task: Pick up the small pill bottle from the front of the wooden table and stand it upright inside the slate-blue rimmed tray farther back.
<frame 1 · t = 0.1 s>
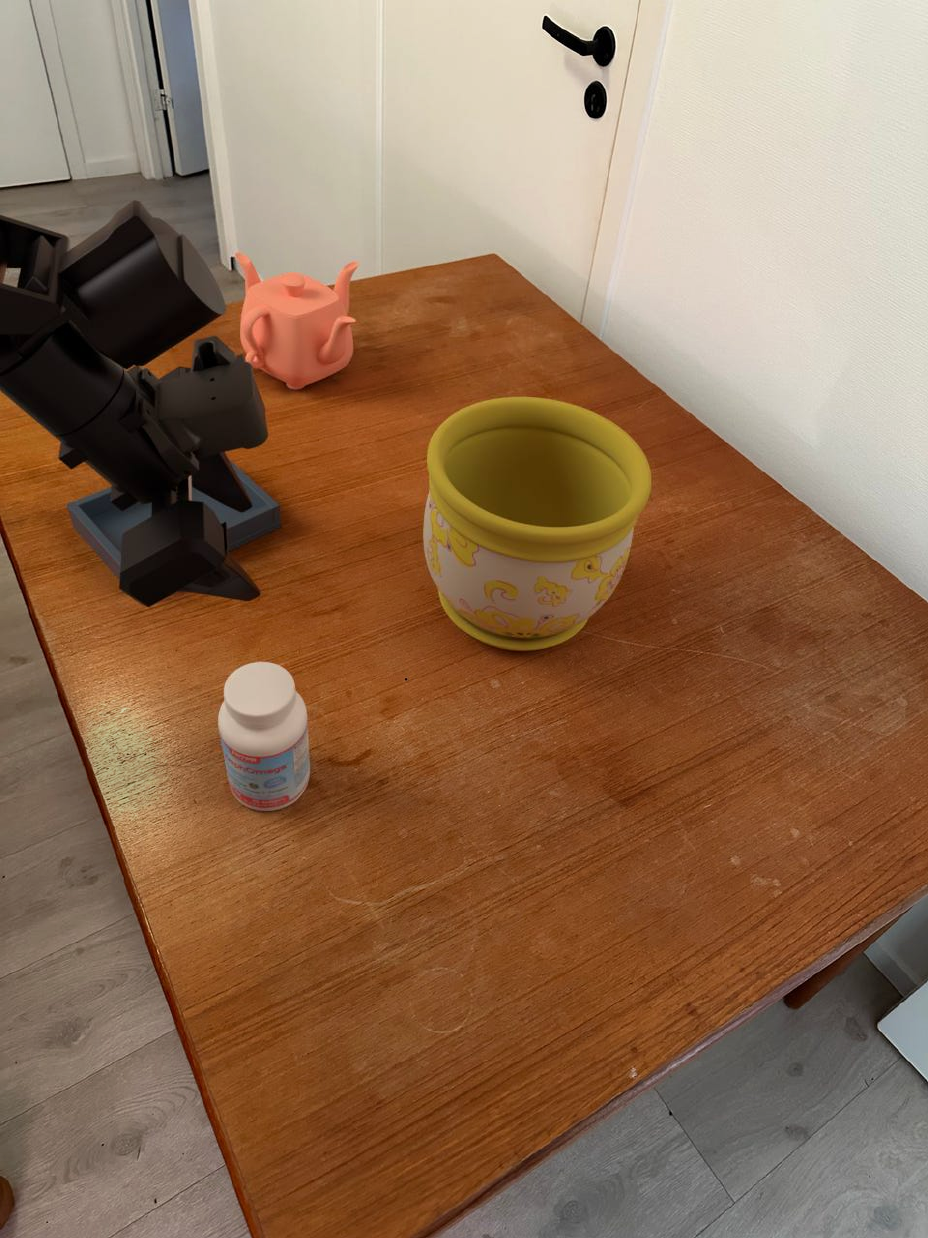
hand: (251, 550, 62), 14 cm above the table, tool tilted 30°, fingers open, 9 cm apart
teapot: (307, 364, 105), on the table
flowerpot: (513, 602, 81), on the table
tray: (179, 526, 84), on the table
pill bottle: (271, 780, 66), on the table
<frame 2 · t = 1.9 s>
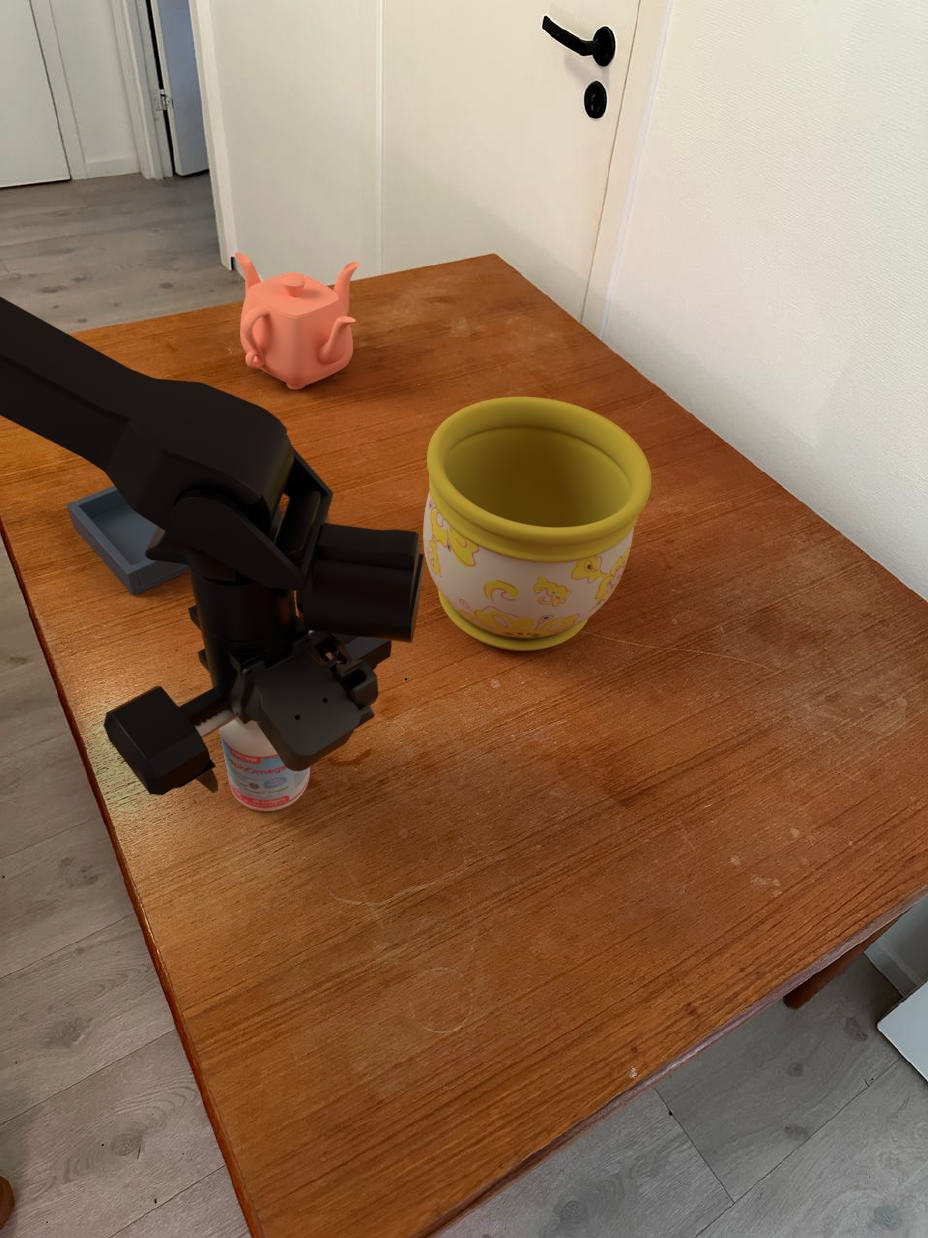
hand: (267, 753, 63), 3 cm above the table, tool pointing down
pill bottle: (271, 780, 66), on the table, touching gripper
everything else where it was.
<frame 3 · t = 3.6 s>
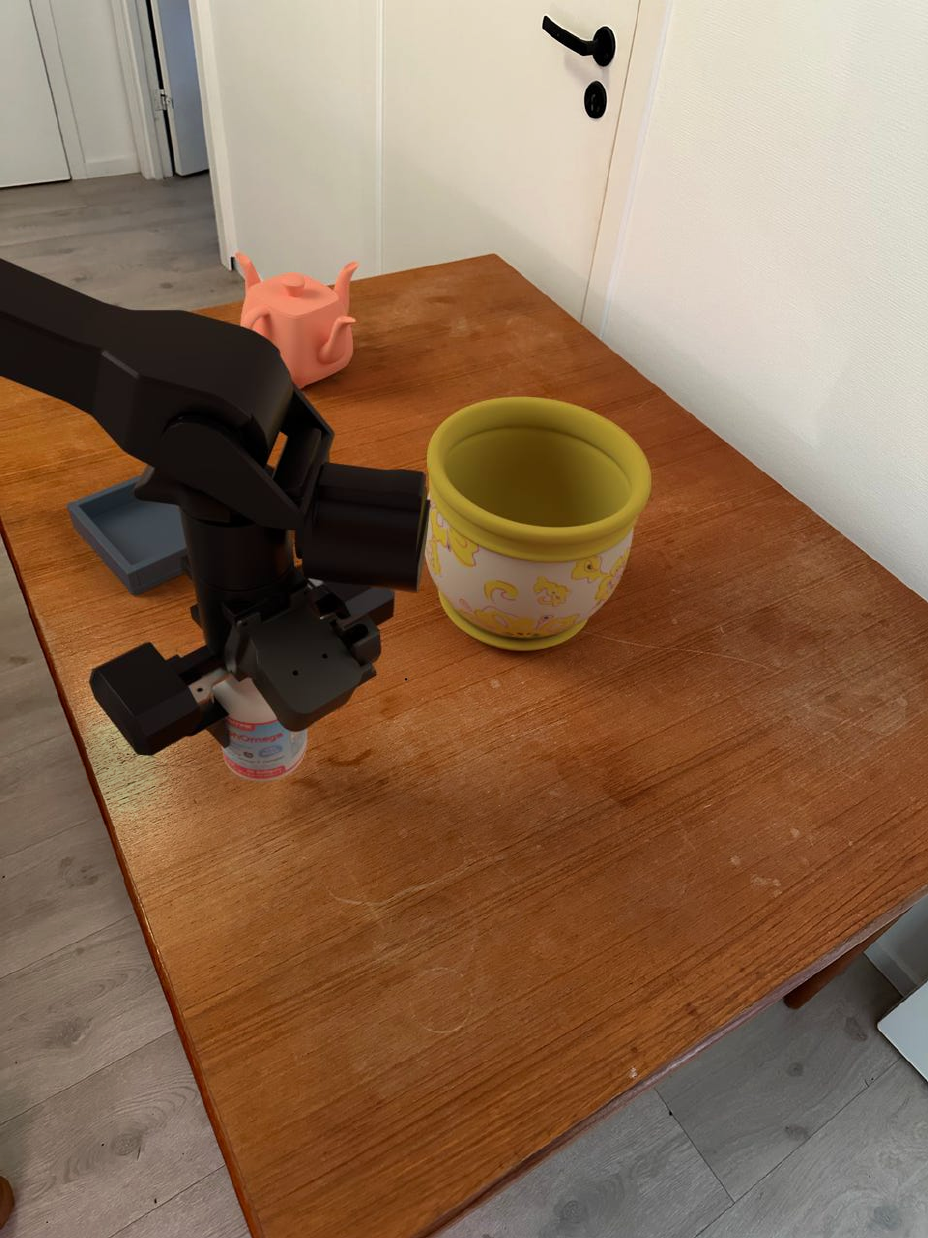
hand: (263, 719, 60), 8 cm above the table, tool pointing down, fingers closed on pill bottle, 6 cm apart
pill bottle: (266, 750, 63), point 4 cm above the table, touching gripper
everything else where it was.
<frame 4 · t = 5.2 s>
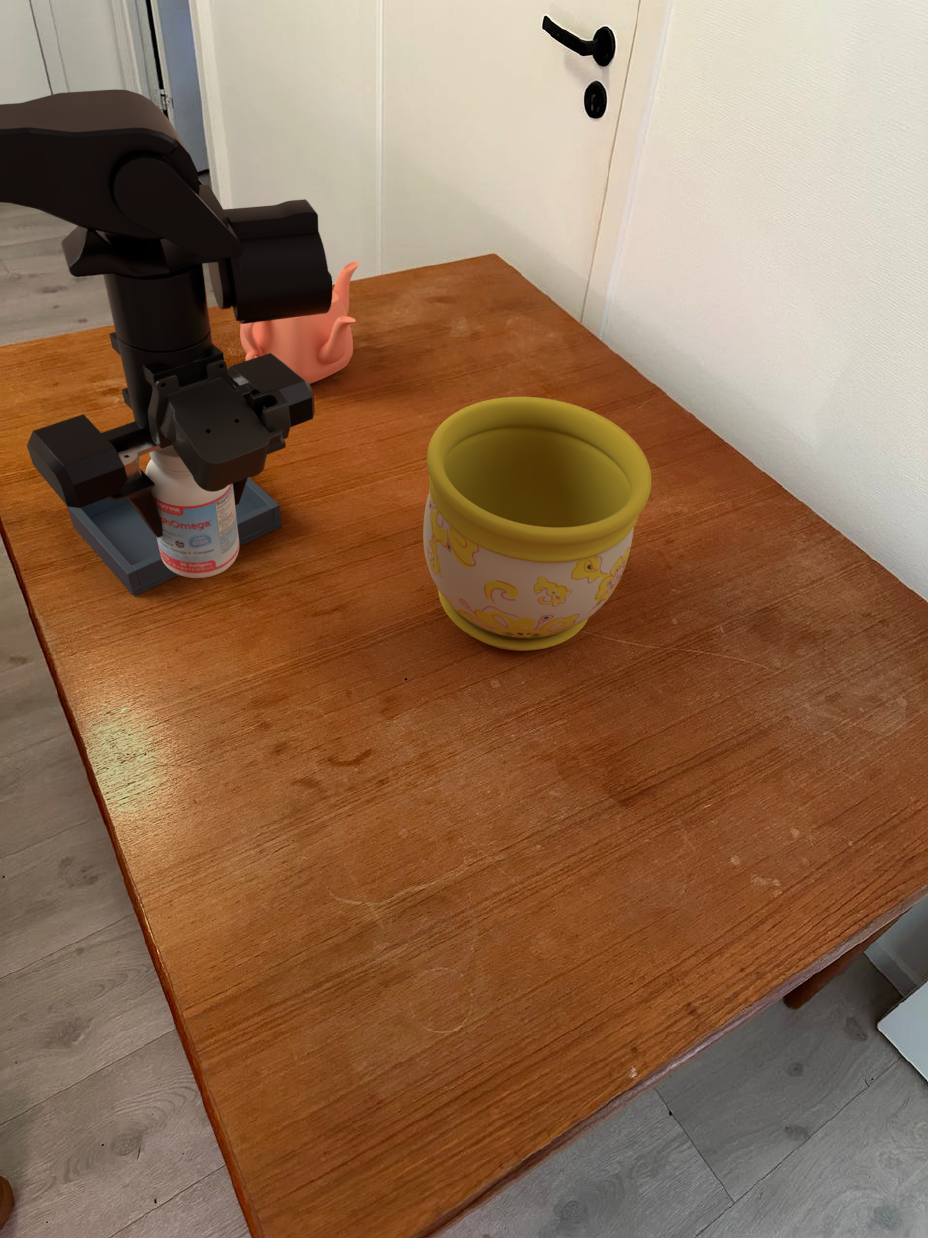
hand: (196, 517, 66), 13 cm above the table, tool pointing down, fingers closed on pill bottle, 6 cm apart
pill bottle: (202, 555, 69), point 9 cm above the table, touching gripper
everything else where it was.
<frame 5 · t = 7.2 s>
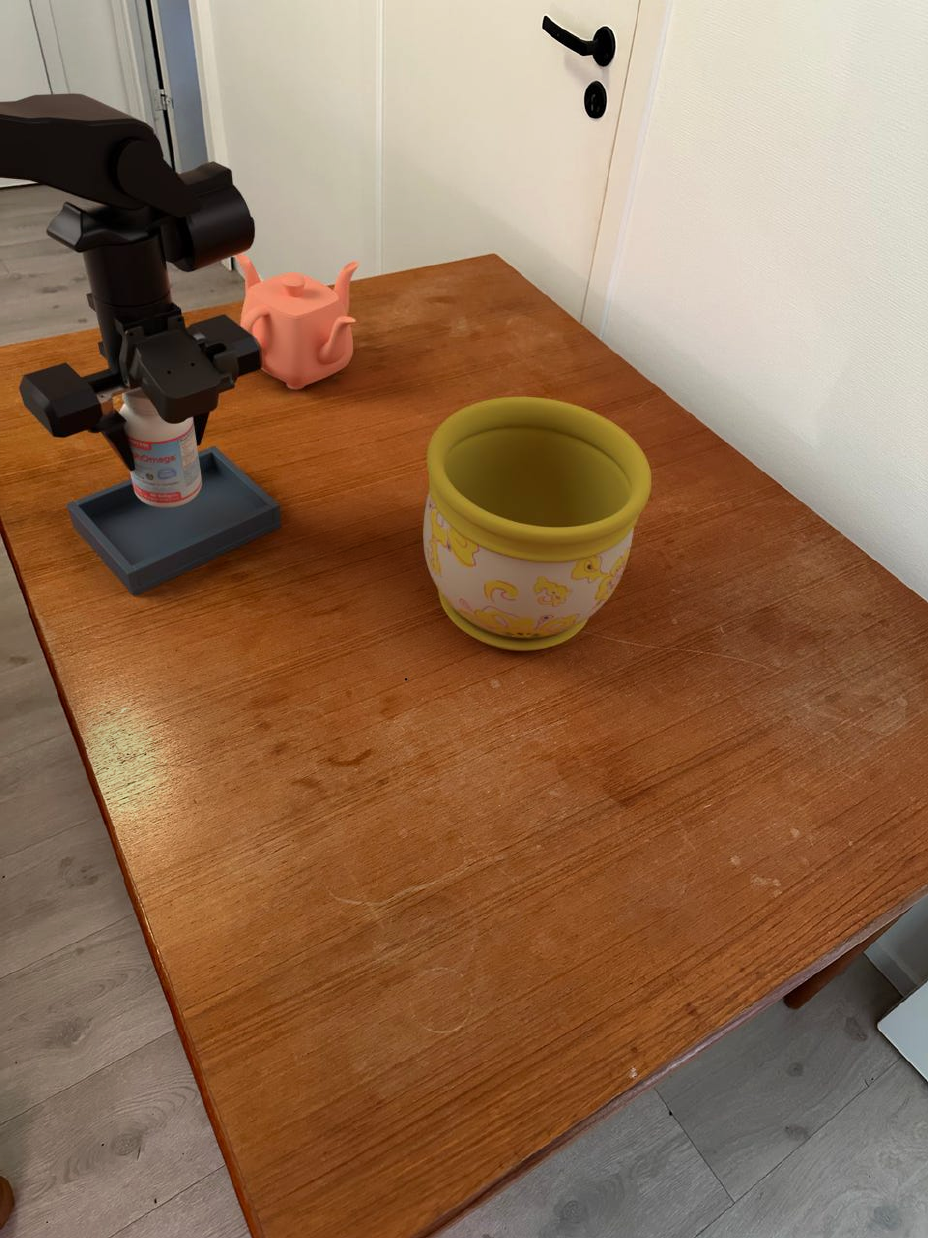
hand: (163, 456, 77), 8 cm above the table, tool pointing down, fingers closed on pill bottle, 6 cm apart
pill bottle: (169, 490, 80), point 4 cm above the table, touching gripper
everything else where it was.
when the fingers open (5 cm above the table, at t = 8.6 s): pill bottle stays where it is, resting on tray.
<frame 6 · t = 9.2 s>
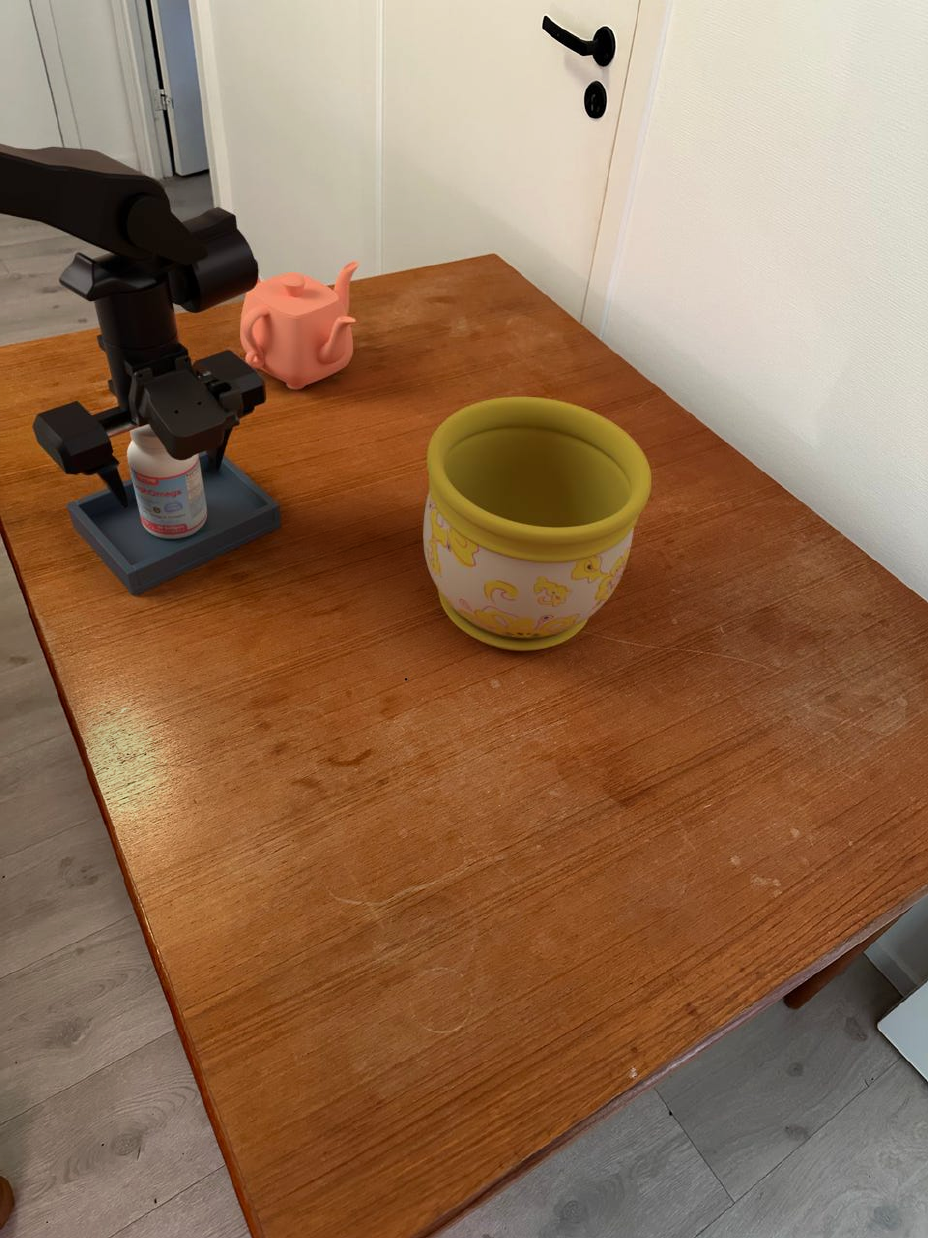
hand: (171, 486, 80), 5 cm above the table, tool pointing down, fingers open, 9 cm apart
pill bottle: (176, 521, 83), point 1 cm above the table, touching tray
everything else where it was.
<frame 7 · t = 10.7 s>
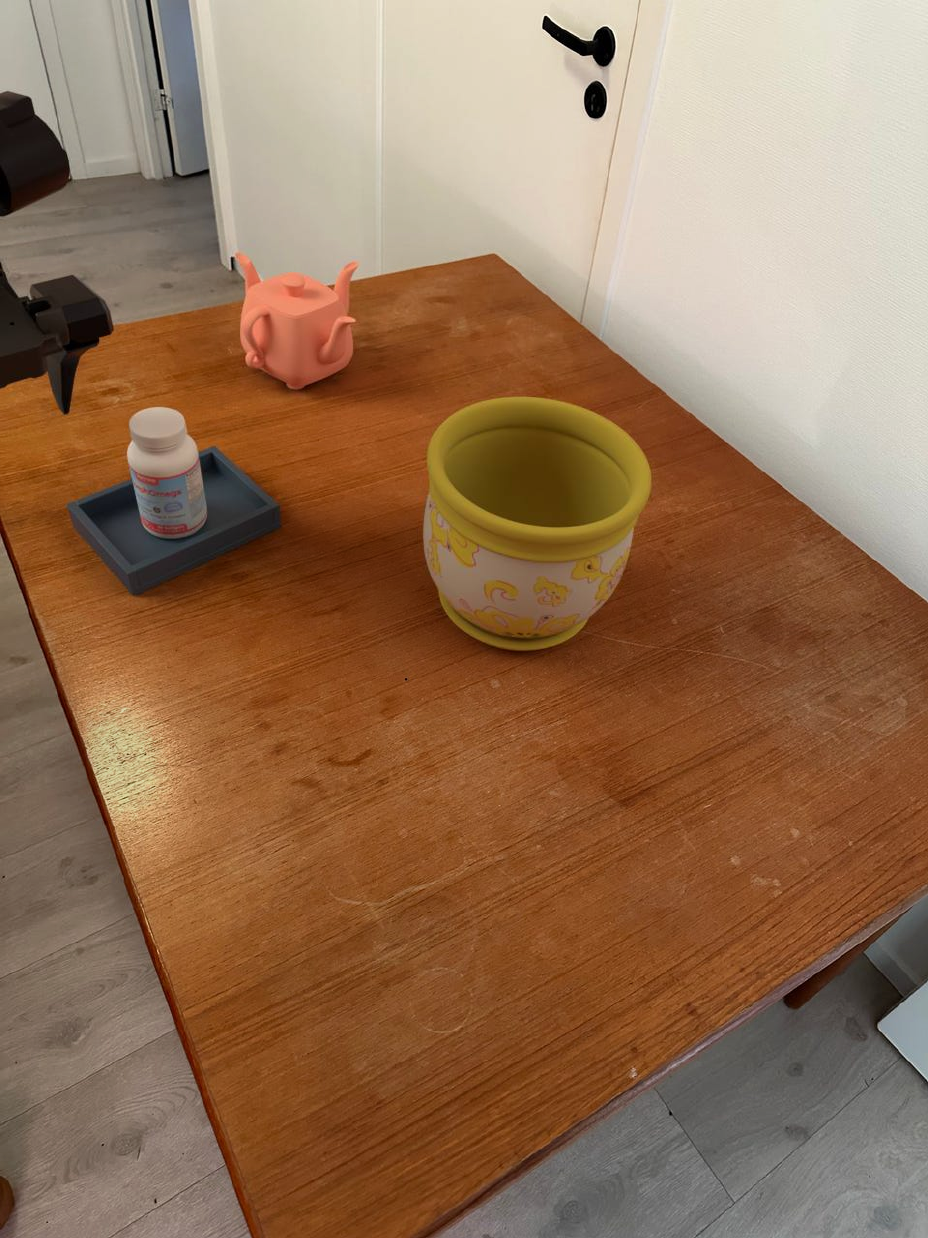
hand: (9, 429, 71), 13 cm above the table, tool pointing down, fingers open, 9 cm apart
nothing on the table moved.
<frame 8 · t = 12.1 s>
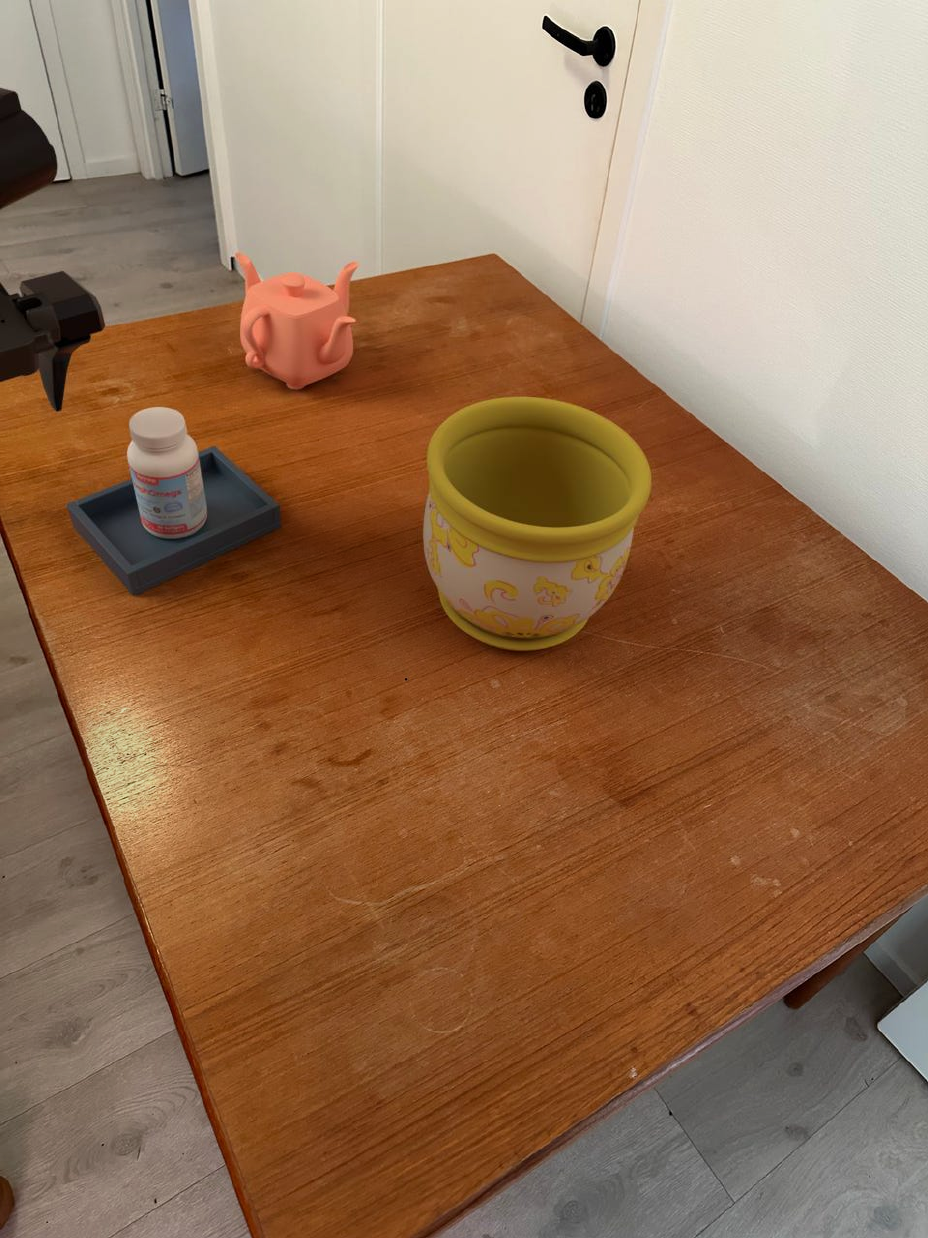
hand: (1, 427, 71), 13 cm above the table, tool pointing down, fingers open, 9 cm apart
nothing on the table moved.
at the end: pill bottle inside the target area in the tray (0.1 cm from its centre), point 0.6 cm above the tray's base; pill bottle tilted 0°; the gripper is holding nothing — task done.
